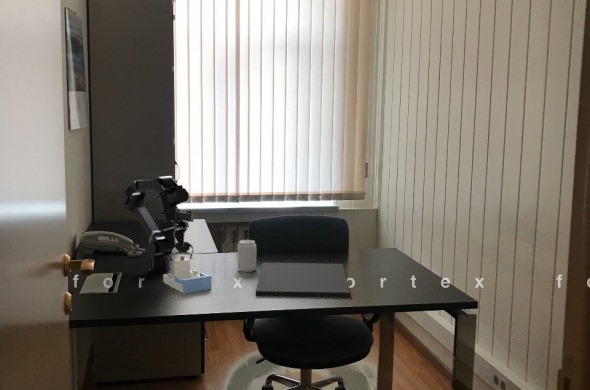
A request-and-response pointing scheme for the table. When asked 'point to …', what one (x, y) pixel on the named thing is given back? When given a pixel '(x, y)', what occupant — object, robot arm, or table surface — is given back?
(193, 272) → the sled frame
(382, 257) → the table surface
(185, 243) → the sunglasses
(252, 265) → the can
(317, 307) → the table surface
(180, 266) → the beige drawer with knob
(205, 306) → the table surface
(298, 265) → the thin dark grey tray
